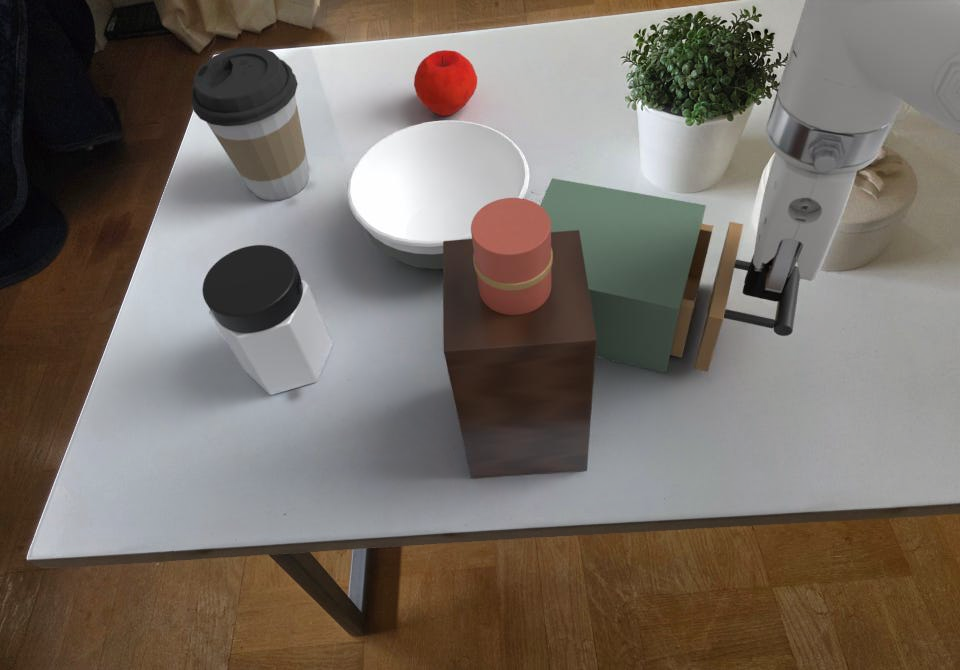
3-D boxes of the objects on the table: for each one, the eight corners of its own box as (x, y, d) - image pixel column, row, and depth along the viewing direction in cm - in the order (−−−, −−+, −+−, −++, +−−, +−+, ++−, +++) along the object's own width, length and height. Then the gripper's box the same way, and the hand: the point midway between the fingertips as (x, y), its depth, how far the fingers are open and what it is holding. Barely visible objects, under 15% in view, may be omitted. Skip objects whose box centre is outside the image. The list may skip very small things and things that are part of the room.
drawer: (788, 292, 71) (810, 235, 64) (773, 387, 65) (797, 335, 58) (593, 253, 76) (597, 197, 70) (563, 338, 70) (564, 285, 63)
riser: (574, 373, 68) (579, 229, 53) (587, 470, 62) (597, 339, 47) (468, 381, 69) (442, 240, 54) (470, 478, 63) (443, 351, 48)
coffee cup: (252, 148, 92) (206, 39, 80) (337, 151, 91) (304, 41, 79) (219, 211, 86) (164, 103, 74) (311, 216, 84) (270, 106, 72)
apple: (472, 130, 91) (466, 78, 85) (411, 126, 92) (401, 75, 87) (485, 91, 96) (480, 39, 90) (426, 88, 97) (418, 37, 91)
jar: (349, 355, 72) (317, 275, 62) (284, 410, 69) (240, 334, 59) (294, 310, 76) (256, 228, 66) (230, 359, 73) (180, 280, 63)
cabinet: (690, 274, 74) (706, 204, 67) (665, 373, 67) (679, 308, 60) (552, 246, 78) (552, 177, 70) (515, 337, 71) (510, 272, 64)
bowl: (531, 297, 74) (529, 241, 68) (351, 301, 76) (332, 246, 69) (531, 174, 85) (529, 115, 79) (374, 179, 87) (359, 122, 80)
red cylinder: (562, 267, 51) (562, 204, 46) (540, 324, 48) (538, 263, 43) (492, 252, 52) (485, 190, 48) (466, 307, 50) (457, 246, 45)
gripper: (883, 207, 44) (797, 370, 59) (892, 64, 52) (814, 239, 67) (756, 184, 46) (703, 348, 61) (783, 49, 54) (730, 223, 69)
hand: (761, 291), depth 64 cm, fingers closed
